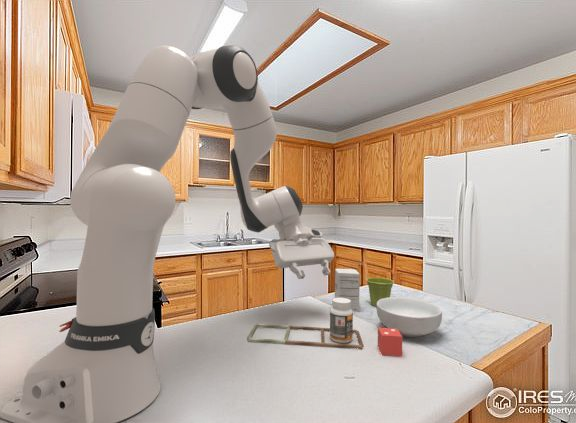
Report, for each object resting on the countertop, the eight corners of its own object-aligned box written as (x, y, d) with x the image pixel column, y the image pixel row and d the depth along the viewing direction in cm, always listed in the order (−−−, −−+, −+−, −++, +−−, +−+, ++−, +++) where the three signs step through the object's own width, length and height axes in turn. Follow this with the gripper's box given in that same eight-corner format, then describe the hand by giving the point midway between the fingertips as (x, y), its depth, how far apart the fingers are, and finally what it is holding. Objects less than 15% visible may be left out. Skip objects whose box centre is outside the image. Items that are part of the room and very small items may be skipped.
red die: (381, 355, 66) (382, 334, 66) (377, 346, 70) (377, 327, 70) (402, 356, 65) (402, 336, 65) (396, 347, 70) (397, 328, 70)
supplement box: (334, 303, 102) (334, 268, 102) (355, 304, 102) (356, 268, 102) (336, 311, 95) (337, 272, 95) (359, 311, 94) (360, 273, 94)
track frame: (246, 341, 71) (246, 339, 71) (255, 325, 81) (255, 323, 81) (364, 349, 68) (364, 346, 68) (358, 332, 78) (358, 329, 78)
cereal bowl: (378, 316, 91) (378, 293, 91) (437, 324, 85) (437, 300, 85) (373, 338, 75) (374, 310, 75) (446, 350, 69) (446, 320, 69)
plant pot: (360, 304, 102) (360, 279, 102) (374, 299, 109) (375, 276, 109) (384, 311, 95) (385, 285, 95) (398, 305, 102) (399, 280, 102)
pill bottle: (352, 345, 70) (353, 304, 70) (328, 342, 72) (329, 302, 72) (352, 335, 76) (353, 297, 76) (330, 333, 77) (331, 296, 77)
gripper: (271, 232, 83) (289, 273, 75) (325, 231, 95) (346, 266, 86) (263, 246, 87) (280, 286, 79) (315, 243, 98) (335, 278, 90)
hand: (315, 275), depth 83 cm, fingers open, 8 cm apart
